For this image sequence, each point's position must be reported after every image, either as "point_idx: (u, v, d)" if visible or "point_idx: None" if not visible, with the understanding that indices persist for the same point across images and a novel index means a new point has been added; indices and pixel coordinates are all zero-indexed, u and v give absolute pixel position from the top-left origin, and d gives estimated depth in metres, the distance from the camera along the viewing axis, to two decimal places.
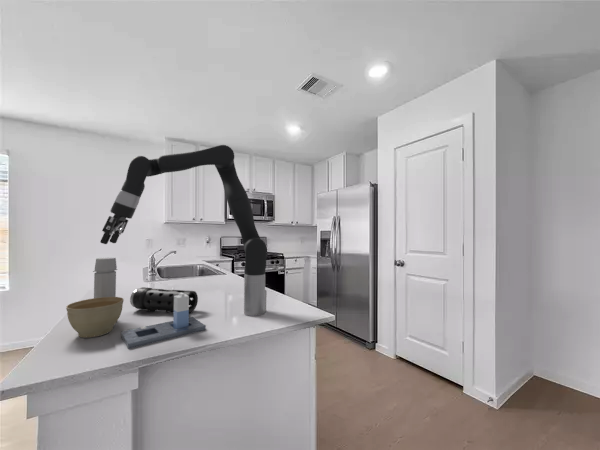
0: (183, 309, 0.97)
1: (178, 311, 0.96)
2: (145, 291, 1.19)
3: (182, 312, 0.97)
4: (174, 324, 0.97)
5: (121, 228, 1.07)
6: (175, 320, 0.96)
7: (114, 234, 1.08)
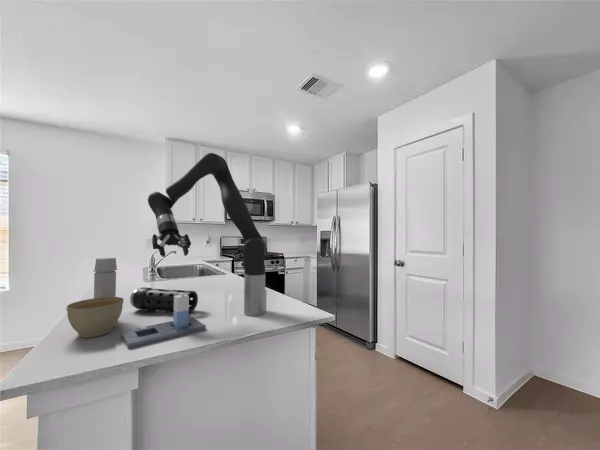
0: (183, 309, 0.97)
1: (178, 311, 0.96)
2: (145, 291, 1.19)
3: (182, 312, 0.97)
4: (174, 324, 0.97)
5: (178, 240, 1.12)
6: (175, 320, 0.96)
7: (183, 249, 1.13)
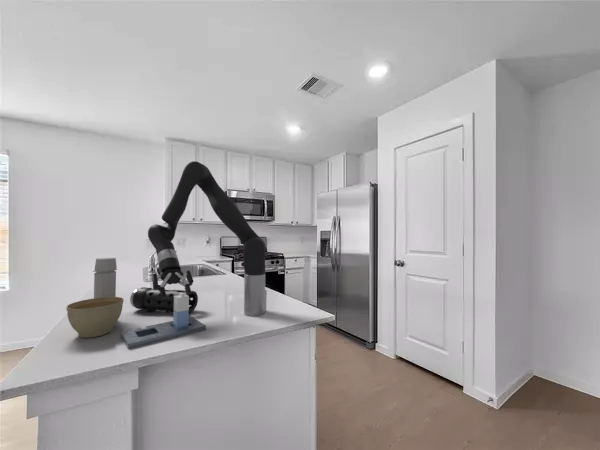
0: (183, 309, 0.97)
1: (178, 311, 0.96)
2: (145, 291, 1.19)
3: (182, 312, 0.97)
4: (174, 324, 0.97)
5: (180, 278, 1.06)
6: (175, 320, 0.96)
7: (185, 287, 1.07)
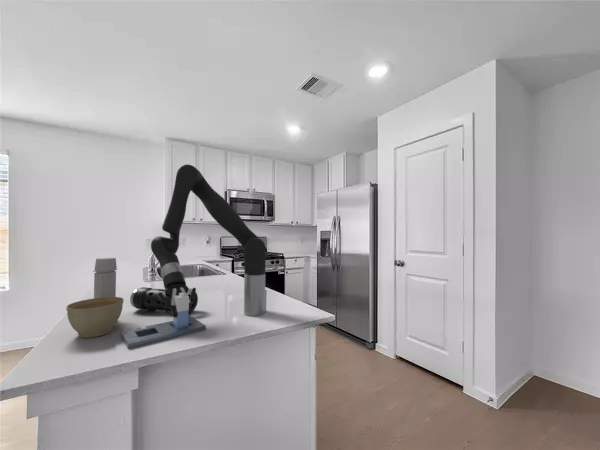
0: (183, 309, 0.97)
1: (178, 311, 0.96)
2: (145, 291, 1.19)
3: (182, 312, 0.97)
4: (174, 324, 0.97)
5: None
6: (175, 320, 0.96)
7: None
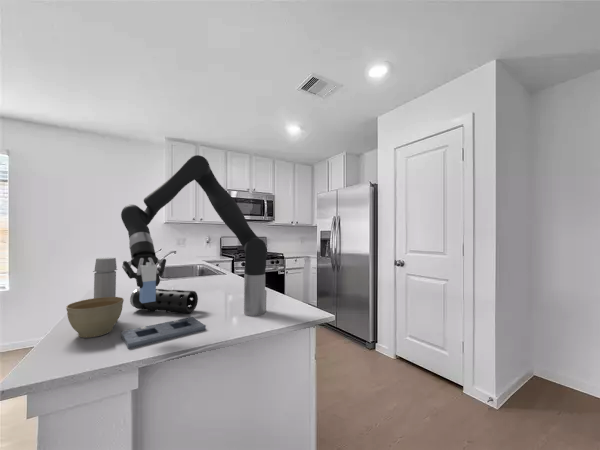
0: (149, 279, 0.90)
1: (144, 281, 0.88)
2: None
3: (149, 282, 0.89)
4: (140, 296, 0.90)
5: None
6: (141, 291, 0.89)
7: None
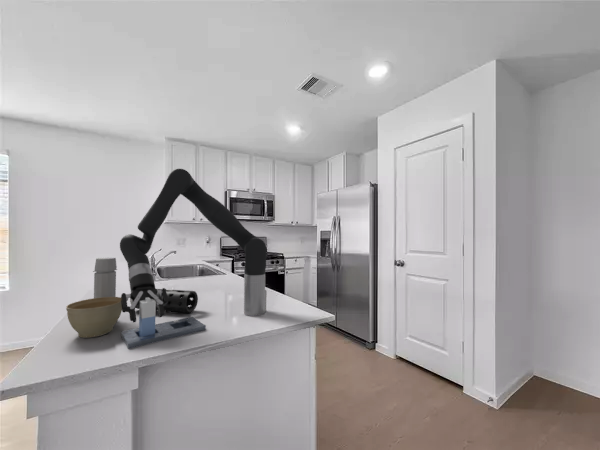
0: (149, 315, 0.89)
1: (143, 318, 0.88)
2: None
3: (148, 318, 0.89)
4: (139, 332, 0.90)
5: (152, 297, 0.94)
6: (140, 327, 0.89)
7: (158, 308, 0.94)
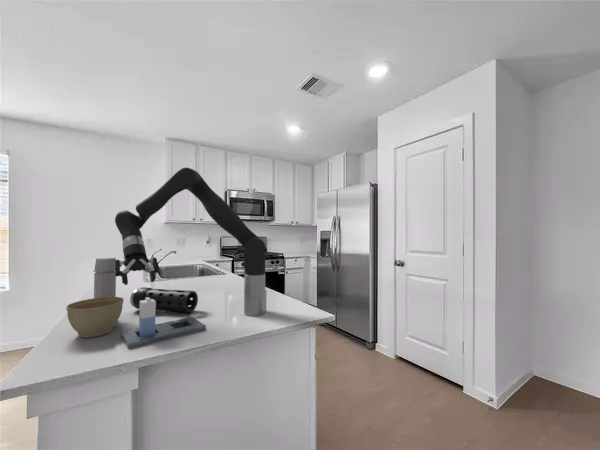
0: (149, 315, 0.89)
1: (143, 318, 0.88)
2: (145, 291, 1.19)
3: (148, 318, 0.89)
4: (139, 332, 0.90)
5: (144, 265, 1.04)
6: (140, 327, 0.89)
7: (150, 274, 1.04)
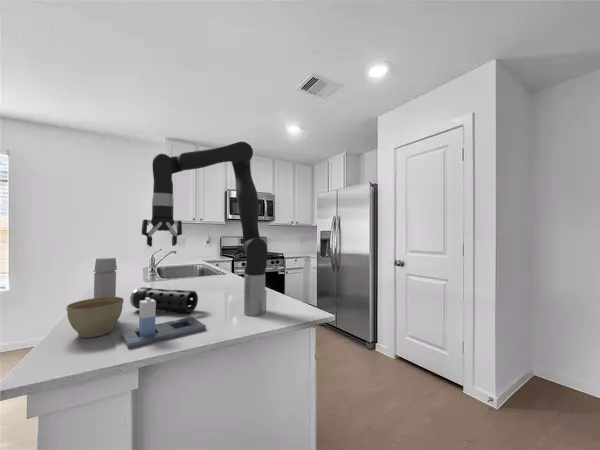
0: (149, 315, 0.89)
1: (143, 318, 0.88)
2: (145, 291, 1.19)
3: (148, 318, 0.89)
4: (139, 332, 0.90)
5: (169, 229, 1.08)
6: (140, 327, 0.89)
7: (172, 237, 1.10)
